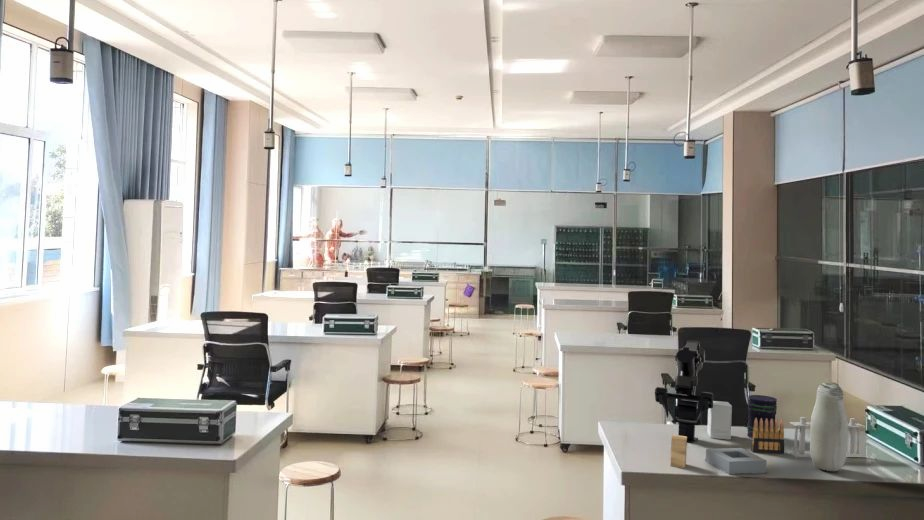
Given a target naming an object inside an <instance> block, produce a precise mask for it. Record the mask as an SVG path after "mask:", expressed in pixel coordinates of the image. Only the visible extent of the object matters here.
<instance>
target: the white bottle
mask: <svg viewBox="0 0 924 520" xmlns="http://www.w3.org/2000/svg"><path fill="white" fill-rule="evenodd" d="M810 422H811V427H810V429H809V430H810V435H809V436H810V439H809V440H810V441H809V442H810V443H809V452H810V455H811V457H810V458H811V460H812V463H813V464H814V465H815V466H816V467H817V468H818V469H820V470H823V471H825V470H826V471H825V472H837V471H840V470H841V469H842V468H844V466H845V463H846V460H847V458H846V453H847V452H848V451H847V450H848V447H847V446H848V437H849V427H848V423H849V422H848V416H847V412H846V409H845V401H844V391H843V388H842V387H840V386H839V385H838V384H836V383H831V382H823V383H821V384H819V385H818V388H817V389H816V396H815V404H814V405H813V410H812V413H811V417H810Z"/></svg>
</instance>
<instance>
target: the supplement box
mask: <svg viewBox="0 0 924 520" xmlns="http://www.w3.org/2000/svg"><path fill="white" fill-rule="evenodd" d="M732 413H733V406H732V404H731V403H730V402H729V401H719V400H713V408H709V409H708V410H707V429H706V434H707V435H708V436H709V438H710V439H718V440H719V439H720V440H727V441H728V440H729V441H730V440H731V438H732V437H731V435H732V415H733V414H732Z"/></svg>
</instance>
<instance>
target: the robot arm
mask: <svg viewBox="0 0 924 520" xmlns="http://www.w3.org/2000/svg"><path fill="white" fill-rule="evenodd" d="M705 352H706V351H705V349H704V348H703V346H701V344H700V341H698V340H686V341H685V345H683V346H682V348H679V350H678V351H677V352H676V353H675V356H674V358H675V359H674V360H675V362H676V366H677V367H676V369H677V376H676V379H675V384H674V391H675V392H671V391H668V390H669V389H668V387H664V386H663V387H660V386H657V387H656V388H655V390H654V398H655V399H654V400H655V402H656V403H659V405H662V407H663V409H664V413H665V415H666V416H665V417H666V418H667V419H668V418H669V399H674V400H677V403H676V405H675V406H674V423H678V431H677V432H678V434H677V435H679V436H686V437H687V443H693V442H695V441H698V440H699V438H698V437H695V434H696V426H699V425H702V414H703V413H704V412H705V411H708V409H709V408H713V401H714V394H713V392H709V391H708V392H707V391H700V395H697V394H696V388H697V387H698V383H699V381H698V379H699V376H698V373H699V372H700V371H701V370H702V369H703V364H705V361H706V360H705V359H706V353H705Z"/></svg>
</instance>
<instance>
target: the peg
mask: <svg viewBox="0 0 924 520" xmlns="http://www.w3.org/2000/svg"><path fill="white" fill-rule="evenodd" d="M670 446H671V448H670V467H675V468H680V469H681V468H682V469H686V465H687V449H688V448H687V446H688V442H687V437H686V436H679V435H678V434H677V435H676V434H672V436H671V445H670Z"/></svg>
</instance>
